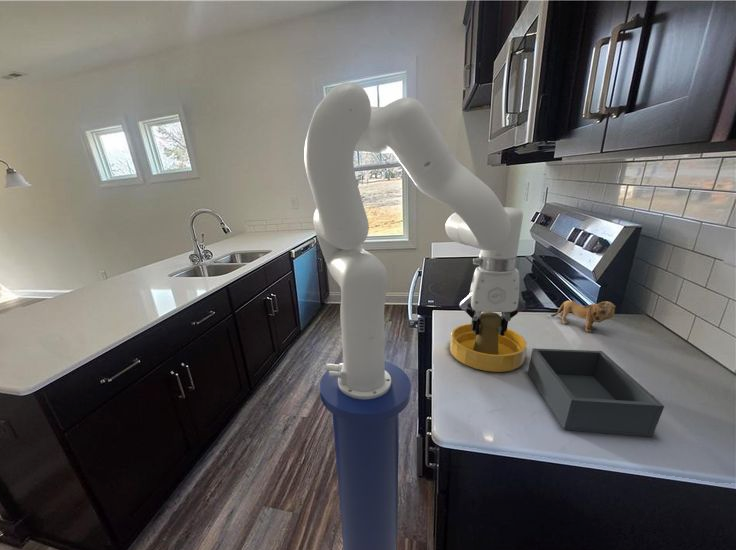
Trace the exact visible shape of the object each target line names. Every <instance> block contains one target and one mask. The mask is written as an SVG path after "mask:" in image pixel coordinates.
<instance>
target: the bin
mask: <svg viewBox="0 0 736 550" xmlns="http://www.w3.org/2000/svg"><path fill="white" fill-rule="evenodd" d="M529 359H530V360H529V364H528V369H527V374H528V376H529V378H530V379H531V381H532V382H533V384H534V385H535V387H536V388H537V390H538V392H539V394H540V395H541V396H542V398H543V400H544V402H545V403H546V404H547V406H548V407H549V409H550V410H551V412H552V413H553V415H554V416H555V418H556V420H557V422H558V423H559V424H560V425H561V427H562V429H563V430H564V431H573V432H586V433H587V432H588V433H599V434H611V435H623V436H634V437H635V436H637V437H648V438H649V437H650V438H653V436H654V434H655V431H656V429H657V426H658V424H659V421H660V418H661V416H662V413H663V411H664V409H665V405H664V404H663V403H662V402H661V401H659V400H658V399H657V398H656V397H655V396H654V395H653V394H652V393H650V392H649V391H648V390H647V389H646V388H644V387H643V385H641V384H640V383H639V382H638V381H637V380H636V379H634V378H633V377H632V375H630V374H629V373H627V371H625V370H624V368H622V367H621V366H620V365H619V364H617V363H616V361H614V360H613V359H612V358H611V357H610V356H608V355H607V353H605V352H603V351H602V350H588V349H587V350H585V349H561V348H560V349H559V348H557V349H556V348H535V347H533V348H532V349H531V355H530V358H529Z"/></svg>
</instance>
